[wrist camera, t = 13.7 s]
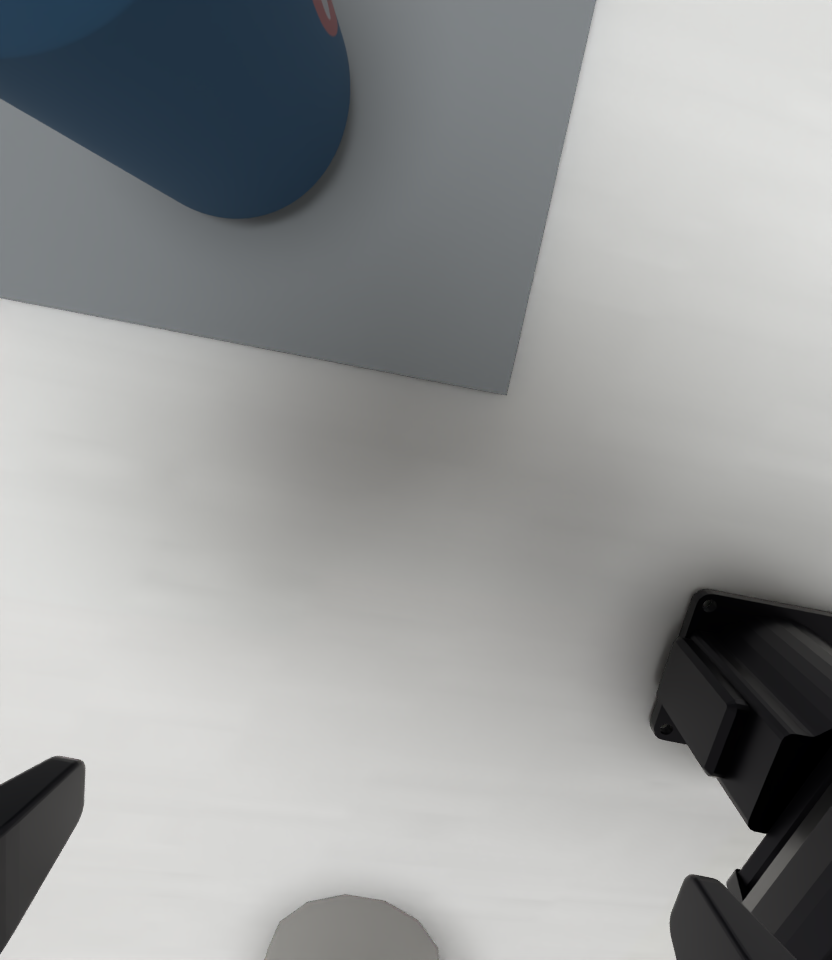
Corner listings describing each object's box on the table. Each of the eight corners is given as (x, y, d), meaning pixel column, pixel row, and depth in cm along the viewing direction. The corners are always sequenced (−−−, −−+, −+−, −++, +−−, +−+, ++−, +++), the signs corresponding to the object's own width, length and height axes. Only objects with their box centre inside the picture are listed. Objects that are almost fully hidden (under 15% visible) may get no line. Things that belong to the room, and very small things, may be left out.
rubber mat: (609, -79, 16) (620, -107, 15) (503, 393, 19) (506, 395, 18) (-61, -210, 16) (-93, -248, 15) (-49, 287, 19) (-75, 283, 18)
